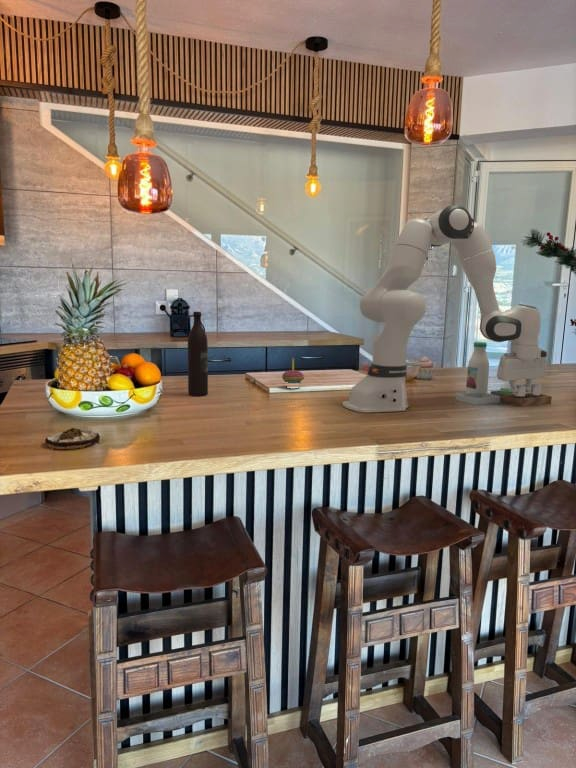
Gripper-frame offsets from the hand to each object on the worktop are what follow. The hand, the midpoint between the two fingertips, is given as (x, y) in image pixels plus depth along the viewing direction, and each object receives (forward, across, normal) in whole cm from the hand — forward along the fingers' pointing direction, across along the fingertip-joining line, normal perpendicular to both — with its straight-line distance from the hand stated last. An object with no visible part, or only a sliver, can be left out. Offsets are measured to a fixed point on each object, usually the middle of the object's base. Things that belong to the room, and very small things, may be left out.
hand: (520, 391), depth 196 cm
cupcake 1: (+5, -60, +57) cm, 83 cm away
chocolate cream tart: (+6, -146, +8) cm, 146 cm away
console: (+5, +2, +8) cm, 9 cm away
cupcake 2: (+5, +5, +57) cm, 57 cm away
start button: (+3, +1, +8) cm, 9 cm away
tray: (+5, -10, +9) cm, 15 cm away
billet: (+5, 0, 0) cm, 5 cm away
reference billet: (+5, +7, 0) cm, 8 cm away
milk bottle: (+5, 0, +20) cm, 21 cm away
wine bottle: (+5, -98, +57) cm, 114 cm away
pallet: (+5, +4, 0) cm, 6 cm away
